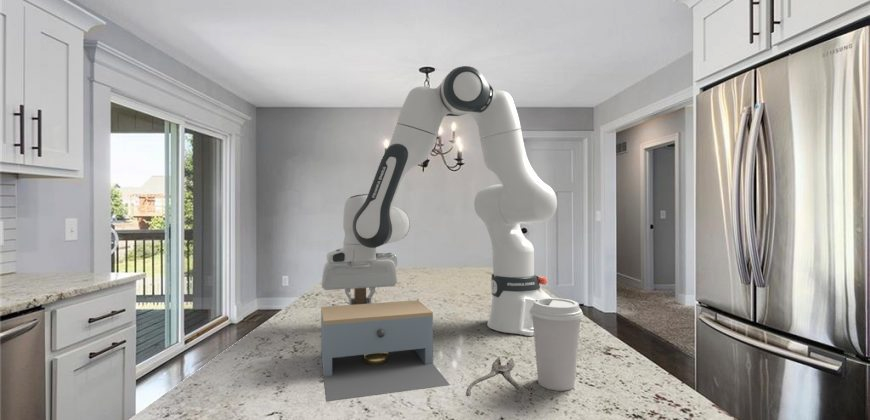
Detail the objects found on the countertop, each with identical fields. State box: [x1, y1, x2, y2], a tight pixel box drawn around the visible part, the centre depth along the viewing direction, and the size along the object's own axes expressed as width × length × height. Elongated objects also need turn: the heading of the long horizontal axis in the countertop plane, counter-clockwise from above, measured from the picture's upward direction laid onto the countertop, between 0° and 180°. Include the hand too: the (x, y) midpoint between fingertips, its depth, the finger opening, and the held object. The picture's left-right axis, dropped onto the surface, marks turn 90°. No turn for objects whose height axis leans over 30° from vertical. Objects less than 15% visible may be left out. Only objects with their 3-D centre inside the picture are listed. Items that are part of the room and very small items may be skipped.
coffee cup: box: [530, 297, 584, 392], centre depth 79 cm, size 10×10×15 cm
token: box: [364, 352, 388, 365], centre depth 90 cm, size 5×5×2 cm
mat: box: [323, 349, 451, 402], centre depth 87 cm, size 22×25×1 cm
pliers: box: [466, 356, 523, 403], centre depth 82 cm, size 10×1×20 cm
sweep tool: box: [353, 288, 367, 305], centre depth 107 cm, size 8×23×13 cm, turn 17°
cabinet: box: [320, 299, 434, 377], centre depth 91 cm, size 22×13×11 cm, turn 107°
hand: (360, 304), depth 116 cm, fingers closed on sweep tool, 3 cm apart
